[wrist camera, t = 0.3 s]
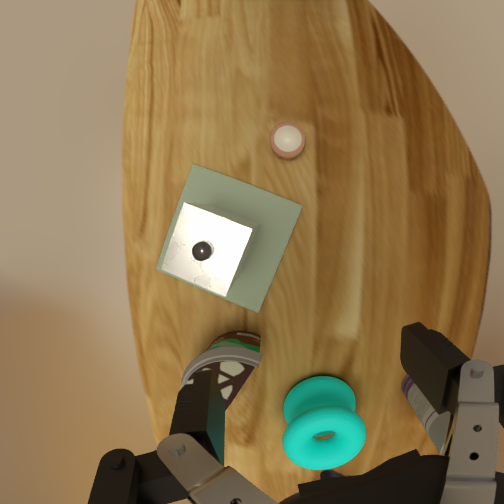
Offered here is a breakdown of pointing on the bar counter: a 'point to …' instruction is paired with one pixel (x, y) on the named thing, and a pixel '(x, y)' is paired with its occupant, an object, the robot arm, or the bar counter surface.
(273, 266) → the rubber mat
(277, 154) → the terracotta ramekin
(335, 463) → the donuts
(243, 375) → the food container
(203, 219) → the steel cover
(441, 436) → the container
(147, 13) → the bar counter surface
